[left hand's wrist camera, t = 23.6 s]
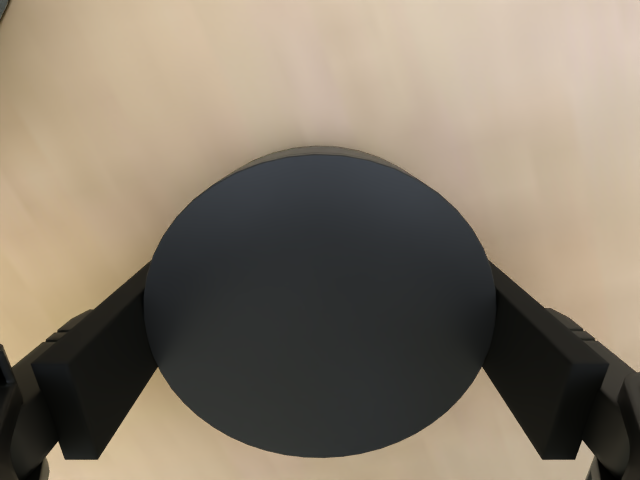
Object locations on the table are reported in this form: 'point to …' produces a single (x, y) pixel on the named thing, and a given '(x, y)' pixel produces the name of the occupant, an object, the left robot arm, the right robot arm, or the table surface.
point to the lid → (319, 304)
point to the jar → (3, 6)
